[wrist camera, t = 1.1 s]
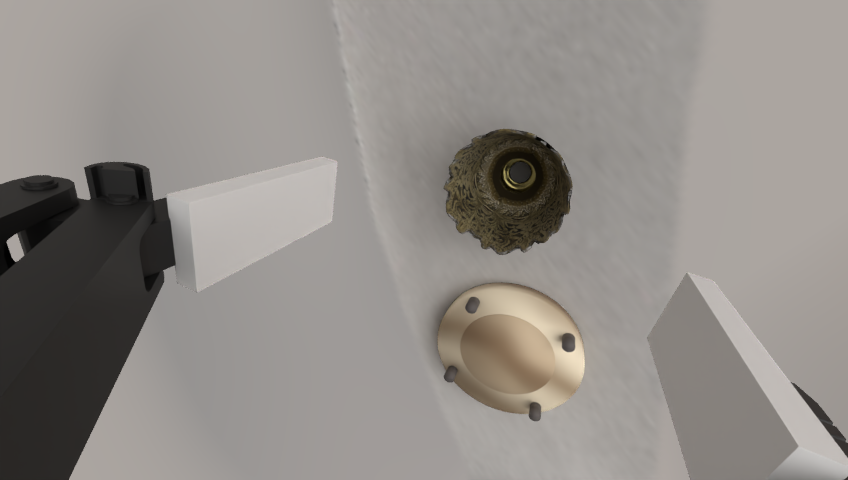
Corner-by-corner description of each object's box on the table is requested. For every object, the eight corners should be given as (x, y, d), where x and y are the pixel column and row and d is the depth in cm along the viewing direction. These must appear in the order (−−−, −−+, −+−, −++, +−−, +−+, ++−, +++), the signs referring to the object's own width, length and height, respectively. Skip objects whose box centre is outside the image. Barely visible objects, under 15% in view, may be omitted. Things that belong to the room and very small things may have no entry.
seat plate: (553, 423, 35) (552, 446, 33) (430, 367, 38) (420, 385, 36) (609, 316, 29) (612, 335, 27) (459, 262, 33) (451, 275, 30)
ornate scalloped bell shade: (455, 179, 30) (421, 202, 23) (513, 101, 27) (492, 101, 20) (526, 235, 30) (512, 277, 23) (594, 164, 26) (602, 187, 19)
